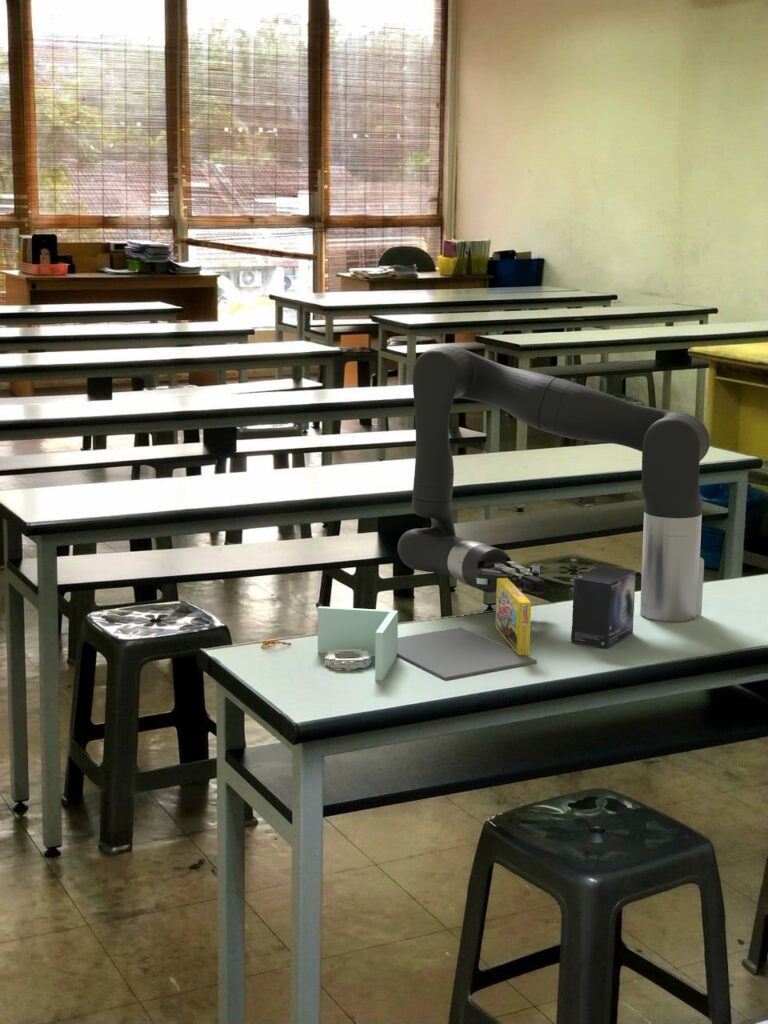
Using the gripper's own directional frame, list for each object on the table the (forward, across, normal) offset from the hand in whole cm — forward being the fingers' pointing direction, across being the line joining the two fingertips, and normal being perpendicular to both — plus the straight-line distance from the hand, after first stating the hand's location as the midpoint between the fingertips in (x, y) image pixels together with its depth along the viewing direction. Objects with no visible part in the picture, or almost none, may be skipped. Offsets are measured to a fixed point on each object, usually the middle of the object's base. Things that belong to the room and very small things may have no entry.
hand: (540, 587), depth 209 cm
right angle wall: (+1, -35, +8) cm, 36 cm away
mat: (+3, -18, +7) cm, 20 cm away
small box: (+8, +6, +7) cm, 13 cm away
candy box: (+3, -8, +7) cm, 11 cm away
